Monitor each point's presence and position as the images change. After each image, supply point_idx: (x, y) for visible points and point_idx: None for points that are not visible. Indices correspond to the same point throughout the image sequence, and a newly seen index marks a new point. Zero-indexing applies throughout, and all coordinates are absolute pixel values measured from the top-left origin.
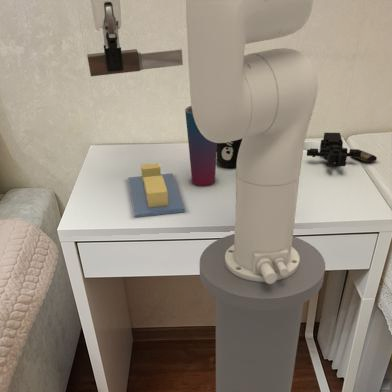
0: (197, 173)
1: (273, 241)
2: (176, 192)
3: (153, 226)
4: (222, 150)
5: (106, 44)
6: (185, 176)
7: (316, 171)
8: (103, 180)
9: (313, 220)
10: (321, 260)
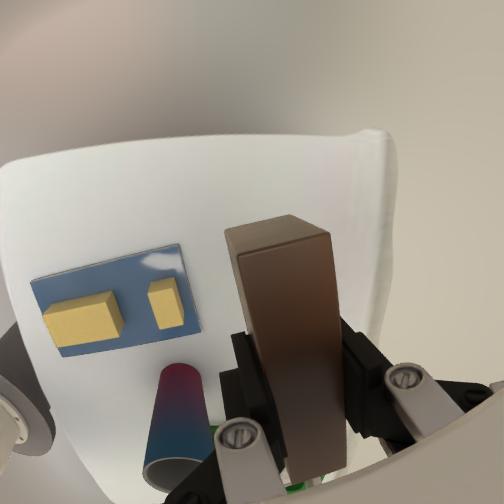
0: (158, 386)
1: None
2: (114, 345)
3: (16, 310)
4: None
5: (217, 452)
6: (202, 350)
7: None
8: (181, 185)
9: (89, 468)
10: (22, 453)
